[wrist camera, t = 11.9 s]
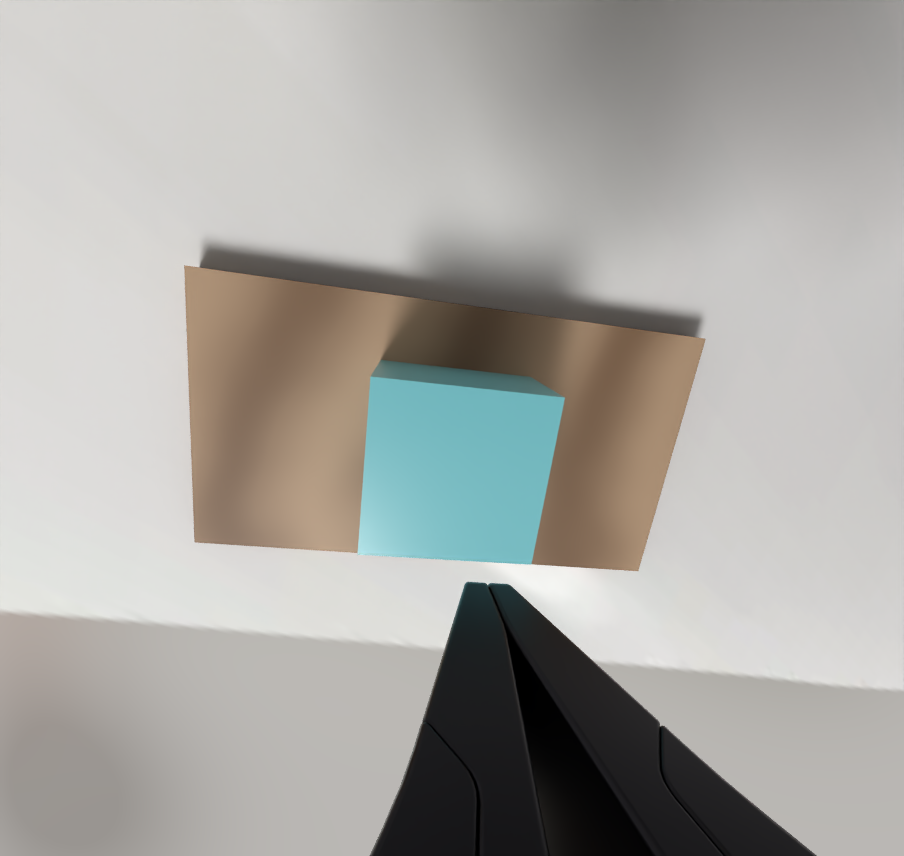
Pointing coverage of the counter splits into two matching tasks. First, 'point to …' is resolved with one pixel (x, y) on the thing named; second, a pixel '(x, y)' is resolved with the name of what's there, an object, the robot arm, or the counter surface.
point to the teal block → (455, 463)
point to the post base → (347, 397)
